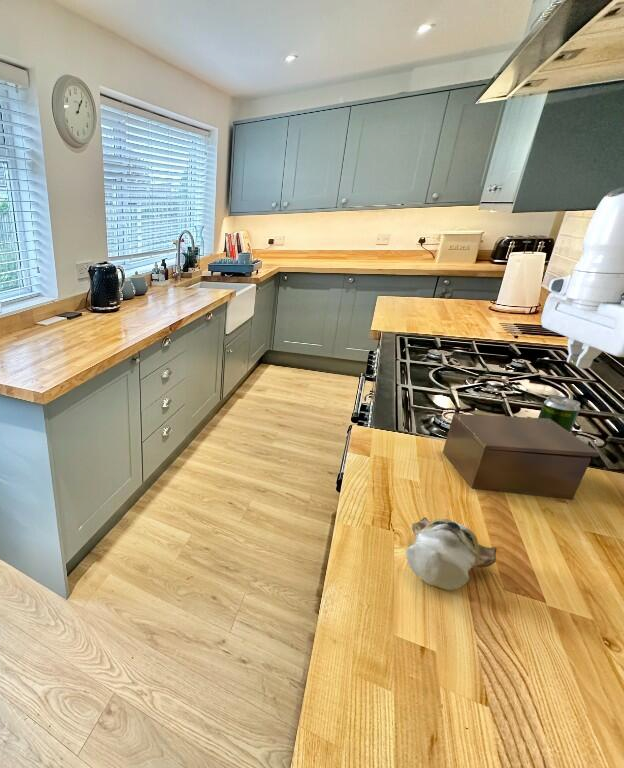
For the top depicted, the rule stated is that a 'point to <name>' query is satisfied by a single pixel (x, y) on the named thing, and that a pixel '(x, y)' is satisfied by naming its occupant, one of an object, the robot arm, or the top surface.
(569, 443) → the box lid
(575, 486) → the keepsake box
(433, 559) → the ceramic sculpture
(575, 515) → the top surface
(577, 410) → the beer can
